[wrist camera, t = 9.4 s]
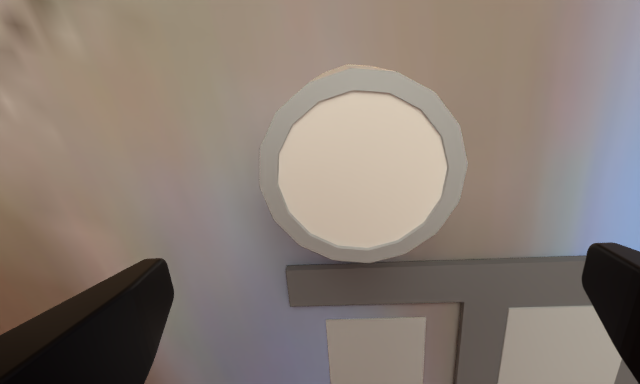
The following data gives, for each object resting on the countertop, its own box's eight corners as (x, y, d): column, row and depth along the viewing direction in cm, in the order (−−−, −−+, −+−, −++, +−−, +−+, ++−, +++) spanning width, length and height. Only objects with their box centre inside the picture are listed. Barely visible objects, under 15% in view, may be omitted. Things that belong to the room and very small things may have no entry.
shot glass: (447, 73, 18) (506, 103, 12) (396, 203, 21) (422, 285, 15) (302, 30, 18) (282, 38, 11) (269, 169, 21) (239, 238, 14)
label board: (690, 250, 22) (702, 258, 21) (625, 437, 28) (632, 448, 27) (287, 263, 23) (285, 271, 22) (307, 438, 29) (306, 449, 28)
